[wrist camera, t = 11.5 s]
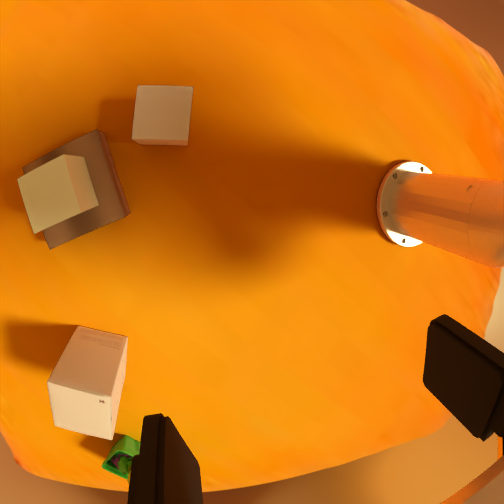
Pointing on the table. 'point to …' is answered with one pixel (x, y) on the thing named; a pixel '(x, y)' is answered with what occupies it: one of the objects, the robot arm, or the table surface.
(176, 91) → the grey block
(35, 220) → the beige block
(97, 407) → the supplement box
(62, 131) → the table surface
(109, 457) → the fruit basket
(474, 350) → the robot arm
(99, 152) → the walnut base
